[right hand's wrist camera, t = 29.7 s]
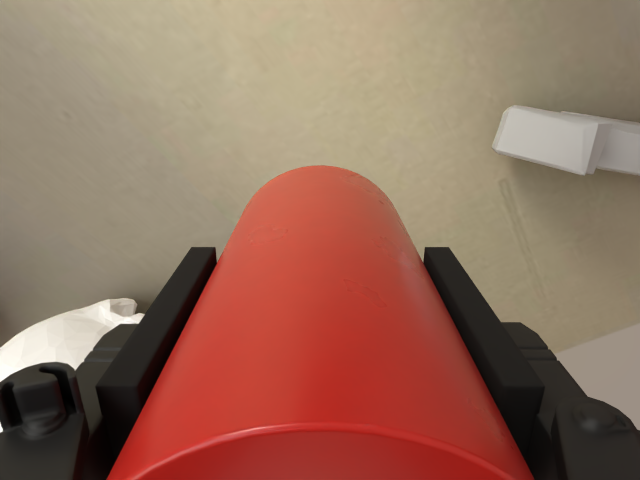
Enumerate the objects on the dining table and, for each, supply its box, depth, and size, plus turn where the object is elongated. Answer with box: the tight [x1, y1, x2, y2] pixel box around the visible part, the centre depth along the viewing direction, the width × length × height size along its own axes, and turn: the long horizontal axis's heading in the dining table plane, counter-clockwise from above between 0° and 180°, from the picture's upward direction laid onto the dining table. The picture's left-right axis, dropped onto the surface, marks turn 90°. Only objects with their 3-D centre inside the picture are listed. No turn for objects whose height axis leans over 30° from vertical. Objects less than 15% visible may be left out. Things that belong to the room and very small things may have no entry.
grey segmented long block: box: [492, 105, 640, 176], centre depth 33 cm, size 20×4×7 cm, turn 82°
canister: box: [106, 166, 535, 480], centre depth 12 cm, size 7×7×13 cm
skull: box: [0, 298, 145, 432], centre depth 35 cm, size 13×22×16 cm, turn 94°
